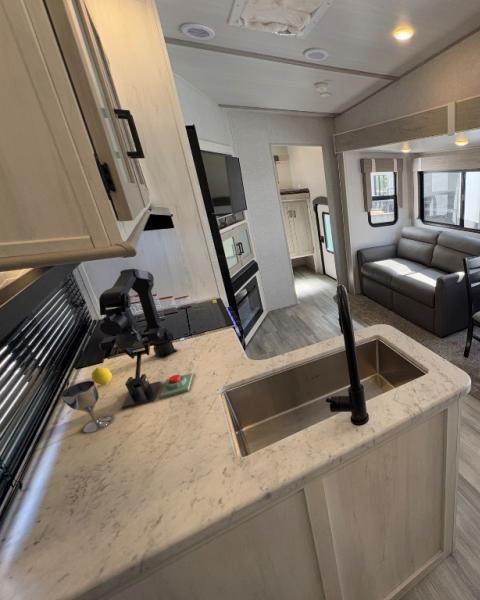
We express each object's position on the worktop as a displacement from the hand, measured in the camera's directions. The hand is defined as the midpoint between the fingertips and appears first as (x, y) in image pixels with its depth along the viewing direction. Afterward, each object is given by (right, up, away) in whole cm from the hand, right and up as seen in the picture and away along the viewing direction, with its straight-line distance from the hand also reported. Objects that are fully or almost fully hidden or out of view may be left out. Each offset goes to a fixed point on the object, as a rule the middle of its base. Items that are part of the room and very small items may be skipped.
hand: (141, 356), depth 123 cm
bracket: (+5, -14, -5) cm, 16 cm away
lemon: (-16, -12, +2) cm, 20 cm away
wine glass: (+1, -20, -18) cm, 27 cm away
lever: (+2, -4, -3) cm, 6 cm away
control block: (+15, -12, -1) cm, 19 cm away
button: (+15, -9, -2) cm, 18 cm away
